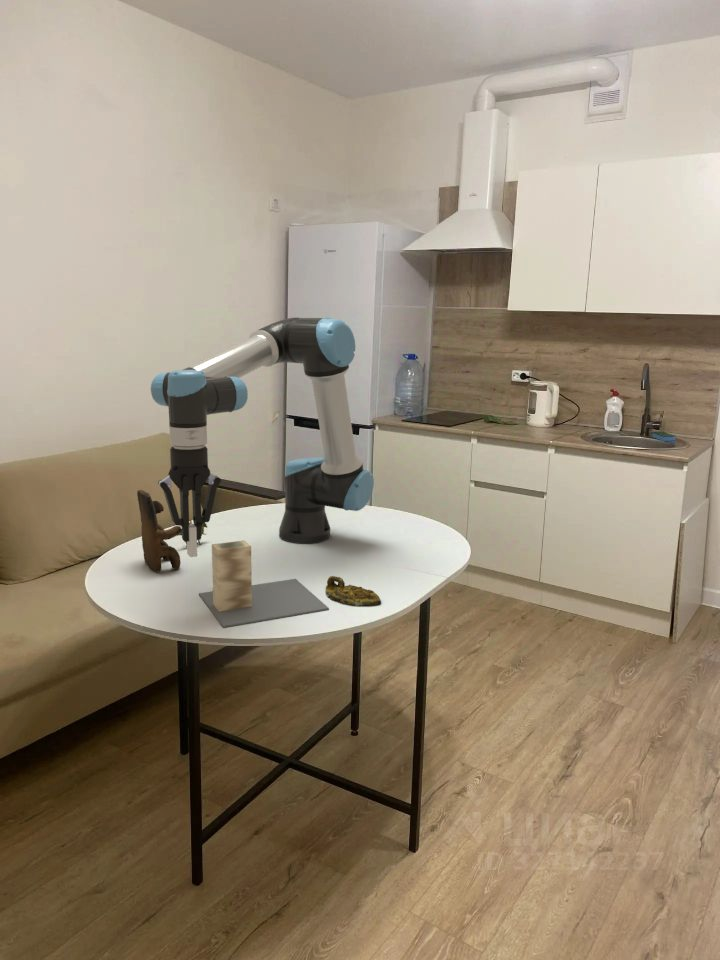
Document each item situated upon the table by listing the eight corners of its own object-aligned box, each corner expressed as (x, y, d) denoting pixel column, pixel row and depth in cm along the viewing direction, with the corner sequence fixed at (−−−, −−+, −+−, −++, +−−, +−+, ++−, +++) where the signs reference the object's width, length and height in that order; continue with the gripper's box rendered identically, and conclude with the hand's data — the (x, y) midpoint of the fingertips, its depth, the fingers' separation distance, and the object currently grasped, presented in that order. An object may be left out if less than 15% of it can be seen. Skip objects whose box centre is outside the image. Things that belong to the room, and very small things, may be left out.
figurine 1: (188, 569, 184) (180, 492, 179) (159, 577, 180) (150, 498, 175) (167, 556, 194) (159, 482, 189) (139, 563, 190) (130, 488, 185)
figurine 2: (211, 542, 207) (210, 515, 205) (177, 552, 197) (176, 523, 195) (203, 540, 208) (203, 513, 207) (170, 550, 199) (169, 521, 197)
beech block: (245, 599, 165) (244, 540, 162) (251, 606, 162) (251, 546, 158) (213, 604, 162) (211, 544, 159) (218, 611, 158) (217, 550, 155)
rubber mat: (295, 580, 179) (295, 578, 179) (328, 609, 162) (328, 608, 161) (198, 594, 168) (198, 593, 168) (223, 628, 151) (223, 626, 151)
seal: (389, 603, 170) (334, 589, 177) (391, 583, 169) (336, 570, 176) (371, 612, 161) (314, 598, 168) (373, 592, 161) (315, 578, 168)
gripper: (160, 451, 144) (165, 564, 149) (224, 447, 150) (227, 556, 155) (152, 444, 150) (157, 553, 156) (214, 441, 156) (217, 546, 161)
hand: (192, 554), depth 155 cm, fingers closed
